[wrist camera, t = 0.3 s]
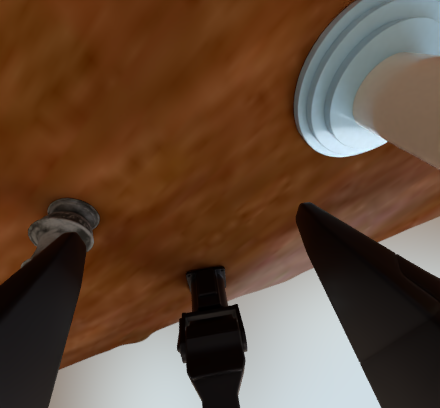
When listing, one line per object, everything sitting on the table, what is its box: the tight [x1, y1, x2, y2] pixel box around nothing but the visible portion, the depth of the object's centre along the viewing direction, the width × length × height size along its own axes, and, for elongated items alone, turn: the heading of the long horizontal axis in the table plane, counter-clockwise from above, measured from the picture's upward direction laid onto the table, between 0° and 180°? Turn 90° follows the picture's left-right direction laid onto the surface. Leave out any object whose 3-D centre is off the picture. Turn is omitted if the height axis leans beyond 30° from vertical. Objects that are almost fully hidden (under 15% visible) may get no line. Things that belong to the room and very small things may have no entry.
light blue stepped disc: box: [294, 0, 440, 157], centre depth 20 cm, size 14×14×3 cm
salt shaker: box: [21, 198, 100, 268], centre depth 21 cm, size 6×6×12 cm
